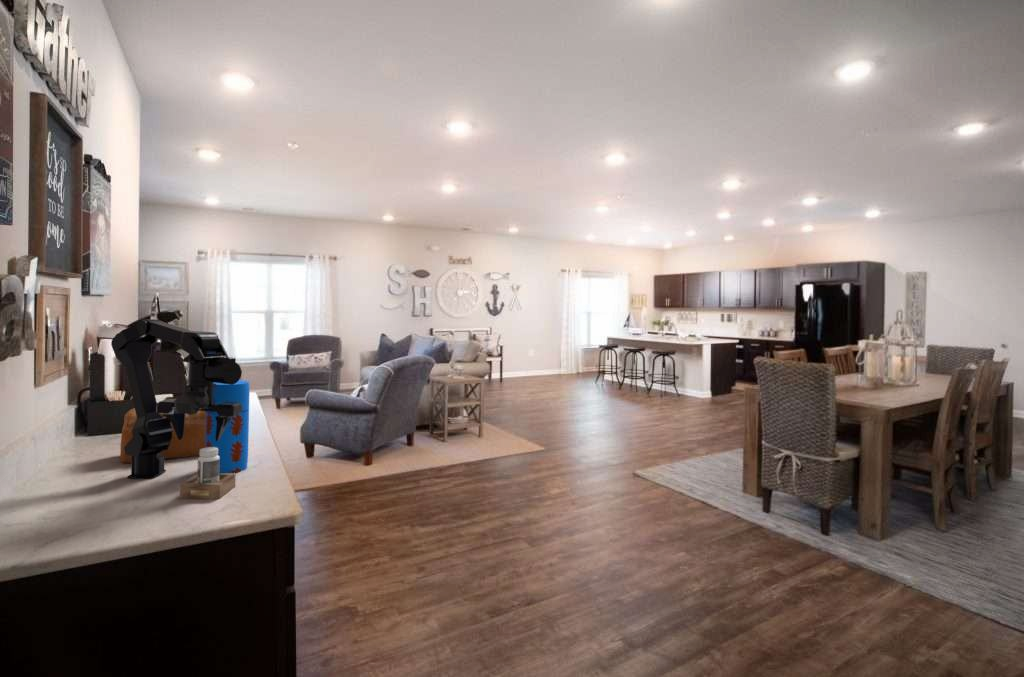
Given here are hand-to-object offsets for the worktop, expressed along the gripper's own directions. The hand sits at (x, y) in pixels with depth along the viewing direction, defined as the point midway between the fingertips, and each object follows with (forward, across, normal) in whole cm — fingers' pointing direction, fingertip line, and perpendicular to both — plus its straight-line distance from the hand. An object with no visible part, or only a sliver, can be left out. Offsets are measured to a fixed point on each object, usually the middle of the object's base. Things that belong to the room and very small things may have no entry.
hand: (198, 440), depth 133 cm
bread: (+13, -21, +28) cm, 38 cm away
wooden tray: (+11, +6, -7) cm, 14 cm away
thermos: (+12, +2, +13) cm, 18 cm away
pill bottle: (+9, +6, -7) cm, 13 cm away
